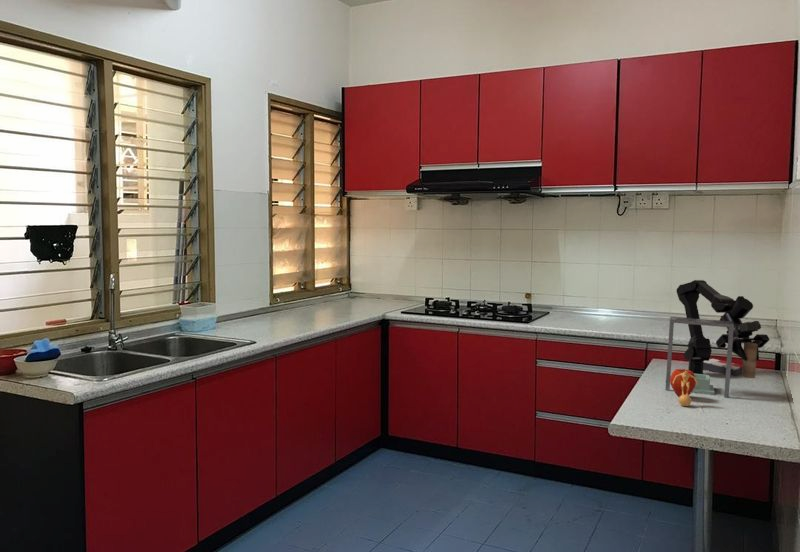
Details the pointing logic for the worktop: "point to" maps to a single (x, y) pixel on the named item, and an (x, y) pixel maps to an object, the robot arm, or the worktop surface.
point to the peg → (749, 360)
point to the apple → (677, 382)
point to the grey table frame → (708, 323)
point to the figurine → (683, 399)
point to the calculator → (722, 367)
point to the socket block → (703, 384)
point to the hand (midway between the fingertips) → (752, 360)
